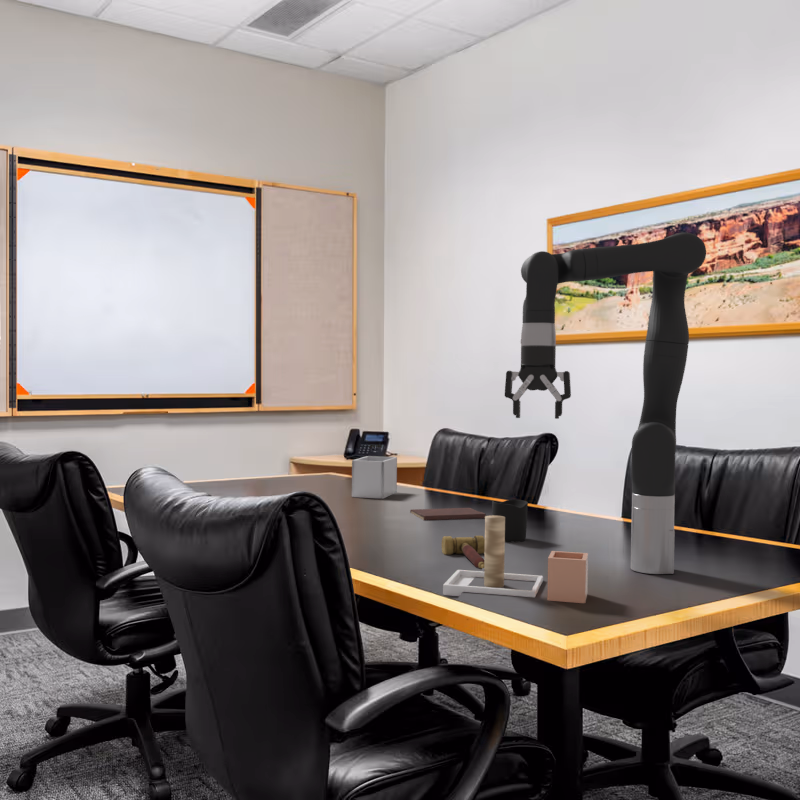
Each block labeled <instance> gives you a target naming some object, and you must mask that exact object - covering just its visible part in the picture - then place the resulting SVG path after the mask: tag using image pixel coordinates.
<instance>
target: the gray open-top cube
mask: <svg viewBox="0 0 800 800" xmlns="http://www.w3.org/2000/svg"><path fill="white" fill-rule="evenodd" d="M397 480H398V457H397V456H396V457H395V456H374V455H373V456H371V455H368V456H367V455H366V456H363V457H360V458H356V459H352V460H351V497H352V498H361V499H364V498H366V499H386V498H387V497H389V496H392V495H393V494H394V495H395V494H396V493H397V492H398V490H397V489H398V485H397V484H398V481H397Z"/></svg>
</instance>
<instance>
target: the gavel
mask: <svg viewBox="0 0 800 800" xmlns="http://www.w3.org/2000/svg"><path fill="white" fill-rule="evenodd" d="M441 552H442V554H443V555H453V554H455V555H457V554H458V555H459V554H462V555H464V556H465V557H466V558H467V559H468V560H469V561H470V562H471V564H472V565H473V566H474V567H475V568H477V569H481V570H482V569H484V562H485V558H483V557H482V556H481V555H483V554H484V555H485V536H483V535H474V536H473V537H471V536H467V537H466V536H461V537H457V536H454V537H452V535H449V536H448V535H447V536H445V535H444V536H442V539H441Z"/></svg>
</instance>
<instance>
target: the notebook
mask: <svg viewBox="0 0 800 800" xmlns="http://www.w3.org/2000/svg"><path fill="white" fill-rule="evenodd" d="M409 511H410V512H409V513H410V514H412V515H414V516H416V517H417V518H419V519H421V520H423V521H445V520H446V521H447V520H449V521H450V520H451V521H452V520H473V519H475V520H477V519H478V520H479V519H485V516H487V515H486V513H485V512H482V511H479V510H476V509H474V508H471V507H455V508H454V507H453V508H452V507H450V508H448V507H447V508H425V509H424V508H421V509H420V508H418V509H414V508H413V509H410V510H409Z"/></svg>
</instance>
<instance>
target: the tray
mask: <svg viewBox="0 0 800 800" xmlns="http://www.w3.org/2000/svg"><path fill="white" fill-rule="evenodd" d="M475 578H484V571H482V570H481V571H480V570H464V569H456V570H455V572H454V573H453V574H452V575H451V576H450V577H449V578H448V579H447V580H446V581H445V582H444V583H443V585H442V595H443V596H451V597H452V596H453V597H460V596H461V595H462V594H463V593H464V592H465V593H475V594H476V593H477V594H489V595H501V596H513V597H514V596H515V597H523V598H524V597H527V598H536V596H537V595H538V592H539V590H540V588H541V585H542V584H543V582H544V576H543V575H537V574H534V575H533V574H525V573H524V574H522V573H521V574H520V573H510V572H507V573H506V572H504V580H512V581H513V580H515V581H527V582H534V585H533V586H532V589H531V590H530V589H529V590H527V589H516V588H515V589H514V588H504V587H500V588H491V587H486V586H476V585H470V584H471V583H472V581H474V579H475Z"/></svg>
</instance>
